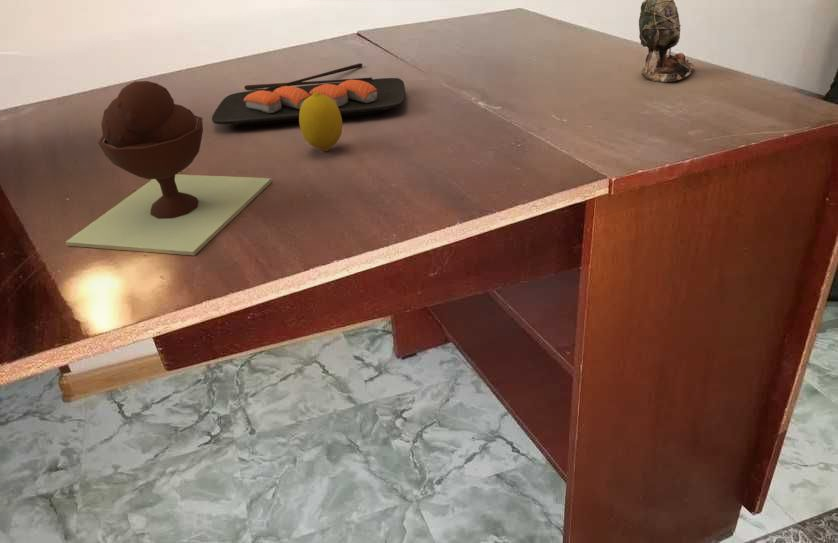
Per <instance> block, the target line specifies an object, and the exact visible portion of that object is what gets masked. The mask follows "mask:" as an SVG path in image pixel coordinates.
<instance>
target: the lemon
mask: <svg viewBox="0 0 838 543" xmlns="http://www.w3.org/2000/svg"><path fill="white" fill-rule="evenodd" d="M298 124H299V128H300V133H301V134H302V137H303V138H304V140H305V141H306V142H307V144H309V145H311V147H314V148H317V149H320V150H321V151H323V152H328V151H329V149H330V148H331V147H333V146H334V145H336V144H337V142H339V140H340V138H341V137H342V136H341V135H342V134H343V133H342V132H343V117H341V114H340V111H339V108H338V106H337V104H336V103H335V102H334V101H333V100H332V99H331V98H330V97H328V96H326V95H323V94H320V93H319V92H314V93H313V94H312V95H311V96H310V97H308V98H307V99H306V100H305V101H304V102H303V103H302V105H301V108H300V112H299V121H298Z"/></svg>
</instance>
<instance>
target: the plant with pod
mask: <svg viewBox="0 0 838 543" xmlns="http://www.w3.org/2000/svg"><path fill="white" fill-rule="evenodd" d="M681 27H682V26H681V23H680V16H679V12H678V7H677V6H676V2H675V0H644V1H642V2H641V5H640V13H639V18H638V31H639V34H638V35H639V40H640V44H641V46H642V47H647V51H648V54H647V55H646V58H645V67H642V71H641V73H640V75H641V76H642V77H643V78H644V79H647V80H649V81H652V82H655V81H656V82H657V83H658V82H660V83H661V82H663V83H668V82H669V83H671V82H676V81H680V80H682V79H684V78H686V77H688V76H690V75H691V73H692V71H693V70H695V65H694V64H693V63H692V62H689V61H690V60H689V59H687V60H686V54H684V53H683V52H679V53H676V54H674V55H673V54H672V53H671V52H672V49H673V48H674V47H676V46H677V45H678V43H679V42H680V39H681ZM668 51H669V53H668V54H667V52H668ZM653 53H654V56H655V57H656V61H655V62H656V63H655V64H651V65H650V62H651V59H652V57H653Z"/></svg>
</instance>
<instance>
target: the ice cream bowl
mask: <svg viewBox="0 0 838 543" xmlns="http://www.w3.org/2000/svg"><path fill="white" fill-rule="evenodd" d="M107 106H108V107H107V108H106V109H104V111H103V115H102V120H101V124H100V125H101V130H102V135H101V137H100V139H99V140H98V142H97V144H98V146H99V147H100V149H101V151H102V152H103V154H104V156H105V157H106V158H107V159H108V160H109V161H110V162H111V164H113V165H114V166H116V167H118V168H120V169H122V170H124V171H125V172H126V173H129V174H132V175H134V176H136V177H139V178H142V179H145V180H152V179H156V180H157V182H158V183H159V184H160V187H161V191H162V195H163V196H161V197H160V198H159V199H158V200H157V201H156V202H154V203H153V204H152V207H151V215H152V216H154V217H156V218H158V219H169V218H176V217H179V216H182V215H186V214H188V213H190V212H191V211H193V210H194V209H196V208H197V207H198V202H199V201H198V199H197V198H196V197H195V196H192V195H190V194H187V193H182V192H178V189H177V186H176V183H175V175H176V174H179V173H181V172H183V171H184V170H185V169H187V168H188V167H189V166H190V165H191V164H192V163H193V162H194V160H195V159H196V157H197V156H198V154H199V153H200V148H201V143H202V140H203V139H202V138H203V132H204V126H203V117H200V116H198V115H195V114H194V113H193V111H192V110H191V109H189V108H187V107H186V106H183V105H181V104H176V103H175V99H173V97H172V95H171V93H170V92H169V91H168V89H167V88H166V87H164V86H163V85H161V84H159V83H157V82H153V81H148V80H140V81H139V80H135V81H133V82H130V83H129V84H127V85H126V86H124V87H122V88H121V90H120V91H119V93H118V95H117V97H115V98H114V99H112V100H111V102H110V103H109V104H108V105H107Z"/></svg>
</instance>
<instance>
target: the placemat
mask: <svg viewBox="0 0 838 543" xmlns="http://www.w3.org/2000/svg"><path fill="white" fill-rule="evenodd" d="M272 182H273V179H272V178H271V177H253V176H252V177H251V176H250V177H249V176H227V175H206V174H205V175H201V174H179V173H177V174H176V175H175V183H176V186H177V189H178V192H182V193H187V194H190V195H192V196H195V197H196V198H197V199H198V201H199V202H198V207H197V208H196V209H194V210H193V211H191V212H190V213H188V214H186V215H182V216H179V217H176V218H169V219H158V218H156V217H154V216H152V215H151V207H152V204H153V203H154V202H156V201H157V200H158V199H159V198H160V197H161V196H163V195H162V191H161V187H160V184H159V183H158V182H157V180H156V179H150V180H149V181H148V182H147V183H145V184H144V185H143V186H141V187H139V188H138V189H137V190H135V191H134V192H132V193H131V194H130V195H128V196H127V197H125V198H124V199H123V200H121V201H120V202H119V203H117V204H116V205H114V206H113V207H112V208H110V209H109V210H108V211H106V212H104V213H103V214H102V215H101V216H99V217H98V218H96V219H95V220H93V221H92V222H91V223H89V224H88V225H87V226H85V227H84V228H83V229H82V230H80V231H78V232H77V233H76V234H74V235H73V236H71V237H70V238H69V239H67V240H66V241H65V245H66V246H67V247H78V248H91V249H103V250H104V249H105V250H115V251H117V250H118V251H129V252H141V253H144V252H145V253H153V254H154V253H155V254H167V255H179V256H180V255H182V256H193V257H194V256H196V255H197V254H198V253H199V252H200V251H201V250H202V249H203V248H204V247H206V245H207V244H209V243H210V242H211V240H212V239H214V238H215V237H216V236H217V235H218V234H219V233H220V232H221V231H222V230H223V229H224V228H225V227H226V226H228V224H230V222H231V221H233V220H234V219H235V218H236V217H237V216H238V215H239V214H240V213H241V212H242V211H243V210H244V209H245V208H247V206H248V205H249V204H251V202H253V200H255V198H257V197H258V196H259V195H260V194H261V193H262V192H263V191H264V190H265V189H266V188H267V187H268V186H269V185H270V184H271V183H272Z"/></svg>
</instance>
